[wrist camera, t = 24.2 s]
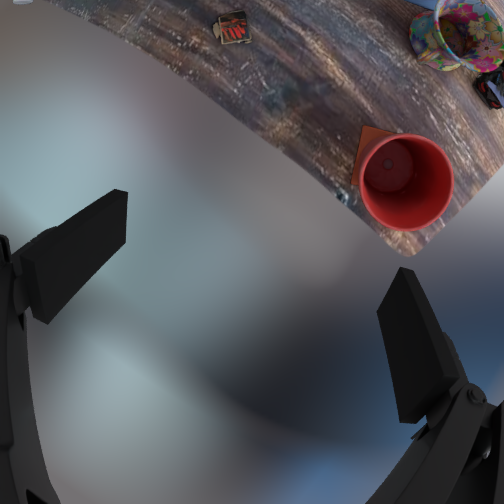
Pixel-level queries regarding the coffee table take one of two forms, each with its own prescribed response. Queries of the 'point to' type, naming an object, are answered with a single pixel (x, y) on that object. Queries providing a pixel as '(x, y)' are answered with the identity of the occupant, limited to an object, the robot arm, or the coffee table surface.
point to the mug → (458, 36)
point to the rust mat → (366, 137)
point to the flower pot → (405, 181)
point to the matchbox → (233, 27)
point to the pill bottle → (22, 1)
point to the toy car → (491, 87)
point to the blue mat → (424, 3)
